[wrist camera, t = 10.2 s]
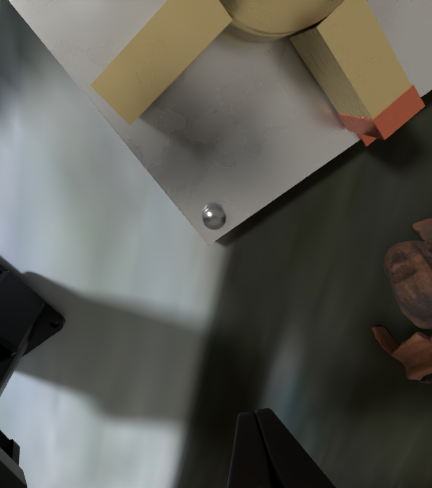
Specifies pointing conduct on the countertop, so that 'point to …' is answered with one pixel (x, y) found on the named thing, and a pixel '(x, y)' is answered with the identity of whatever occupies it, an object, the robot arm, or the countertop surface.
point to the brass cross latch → (264, 30)
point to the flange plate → (224, 104)
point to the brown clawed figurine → (412, 301)
